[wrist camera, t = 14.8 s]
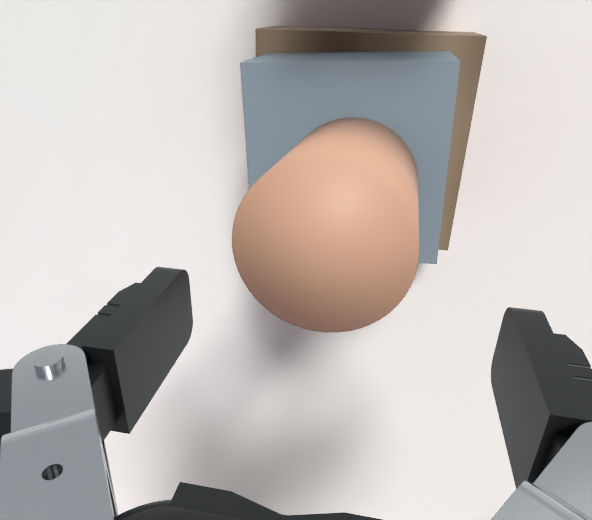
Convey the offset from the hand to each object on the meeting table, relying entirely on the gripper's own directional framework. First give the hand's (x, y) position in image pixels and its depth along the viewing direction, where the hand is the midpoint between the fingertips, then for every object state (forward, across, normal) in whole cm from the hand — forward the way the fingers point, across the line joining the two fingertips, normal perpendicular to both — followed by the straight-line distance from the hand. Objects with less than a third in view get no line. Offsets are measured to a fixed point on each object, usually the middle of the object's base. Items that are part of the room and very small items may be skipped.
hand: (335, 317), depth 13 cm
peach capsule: (+9, 0, -1) cm, 9 cm away
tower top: (+13, +1, -1) cm, 13 cm away
